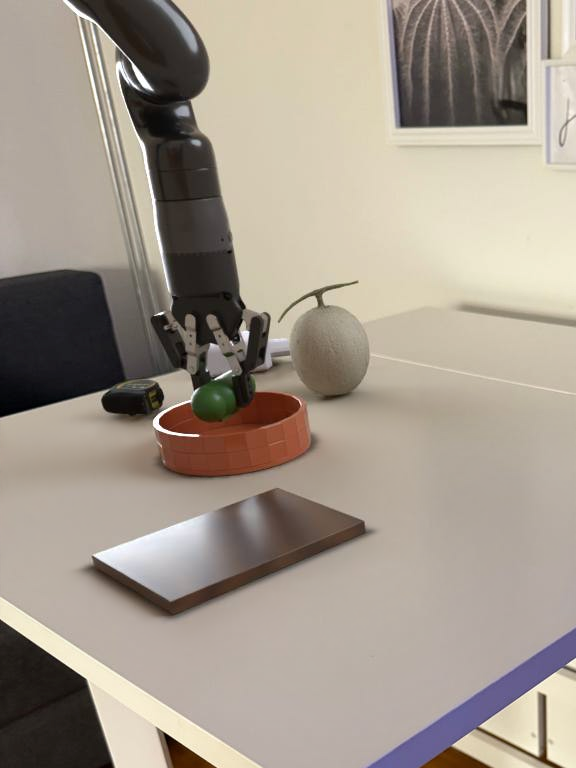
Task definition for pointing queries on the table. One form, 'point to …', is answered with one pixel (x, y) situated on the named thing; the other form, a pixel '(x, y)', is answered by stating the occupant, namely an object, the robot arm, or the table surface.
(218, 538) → the board
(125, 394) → the tape measure
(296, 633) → the table surface
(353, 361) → the fruit
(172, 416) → the bowl
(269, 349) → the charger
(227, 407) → the cucumber
